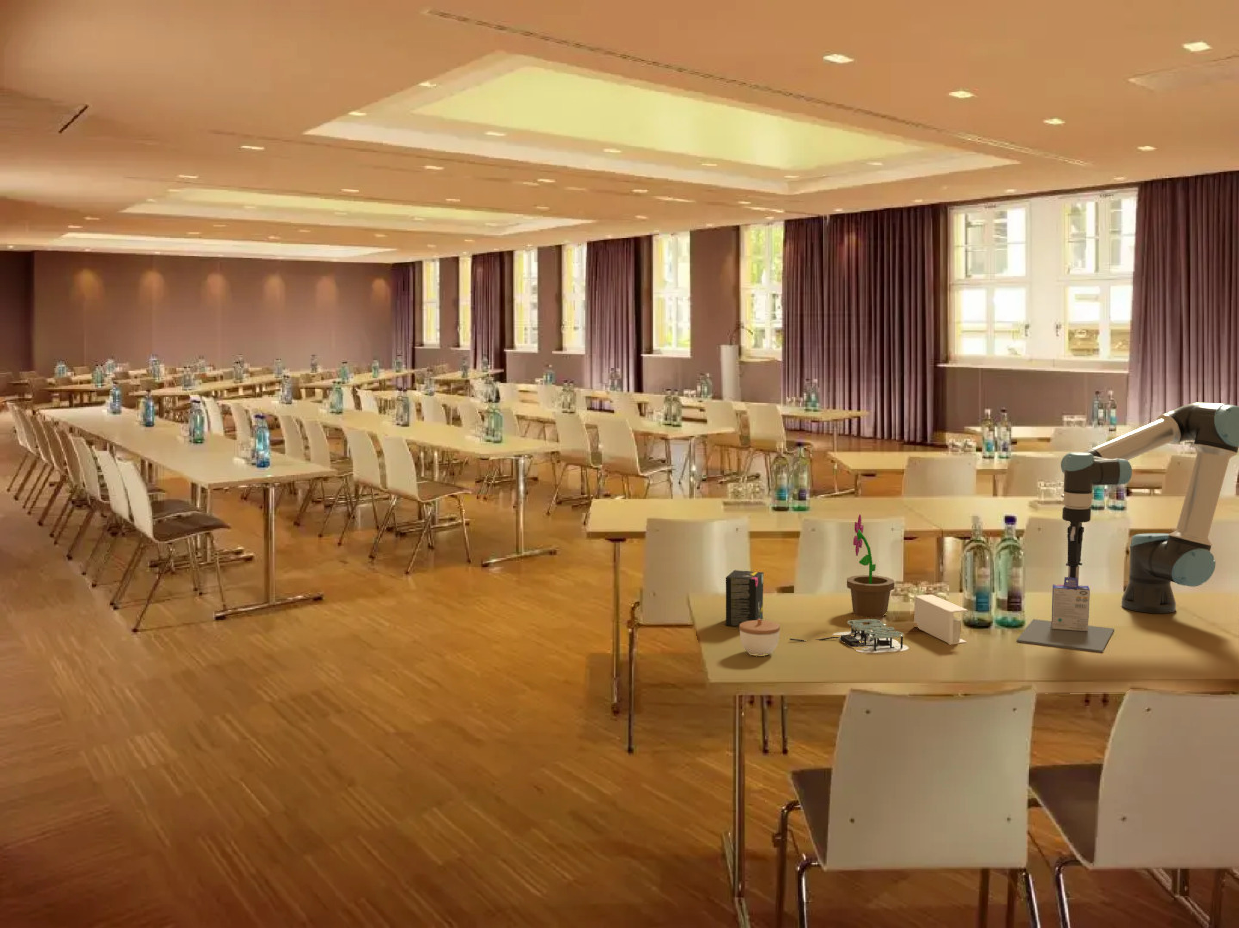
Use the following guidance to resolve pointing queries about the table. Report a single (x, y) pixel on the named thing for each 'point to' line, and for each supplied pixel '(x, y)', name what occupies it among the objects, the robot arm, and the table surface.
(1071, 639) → the mat
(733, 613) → the tampon box
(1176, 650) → the table surface
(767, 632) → the lidded jar
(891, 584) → the flowerpot
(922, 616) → the cigarette display
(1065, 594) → the ink cartridge box
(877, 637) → the neon sign
